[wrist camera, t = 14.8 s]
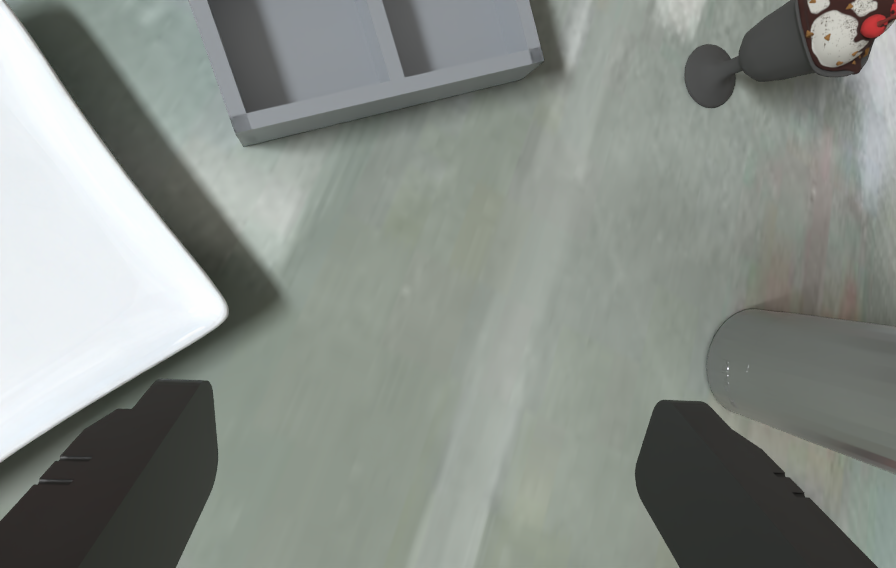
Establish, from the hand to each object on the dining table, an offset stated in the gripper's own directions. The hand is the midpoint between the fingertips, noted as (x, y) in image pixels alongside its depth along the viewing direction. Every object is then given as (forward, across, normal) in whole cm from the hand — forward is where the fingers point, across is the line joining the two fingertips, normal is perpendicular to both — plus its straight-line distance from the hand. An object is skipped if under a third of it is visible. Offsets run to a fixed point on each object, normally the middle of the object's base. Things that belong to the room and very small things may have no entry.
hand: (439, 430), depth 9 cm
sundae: (+34, -23, -9) cm, 42 cm away
